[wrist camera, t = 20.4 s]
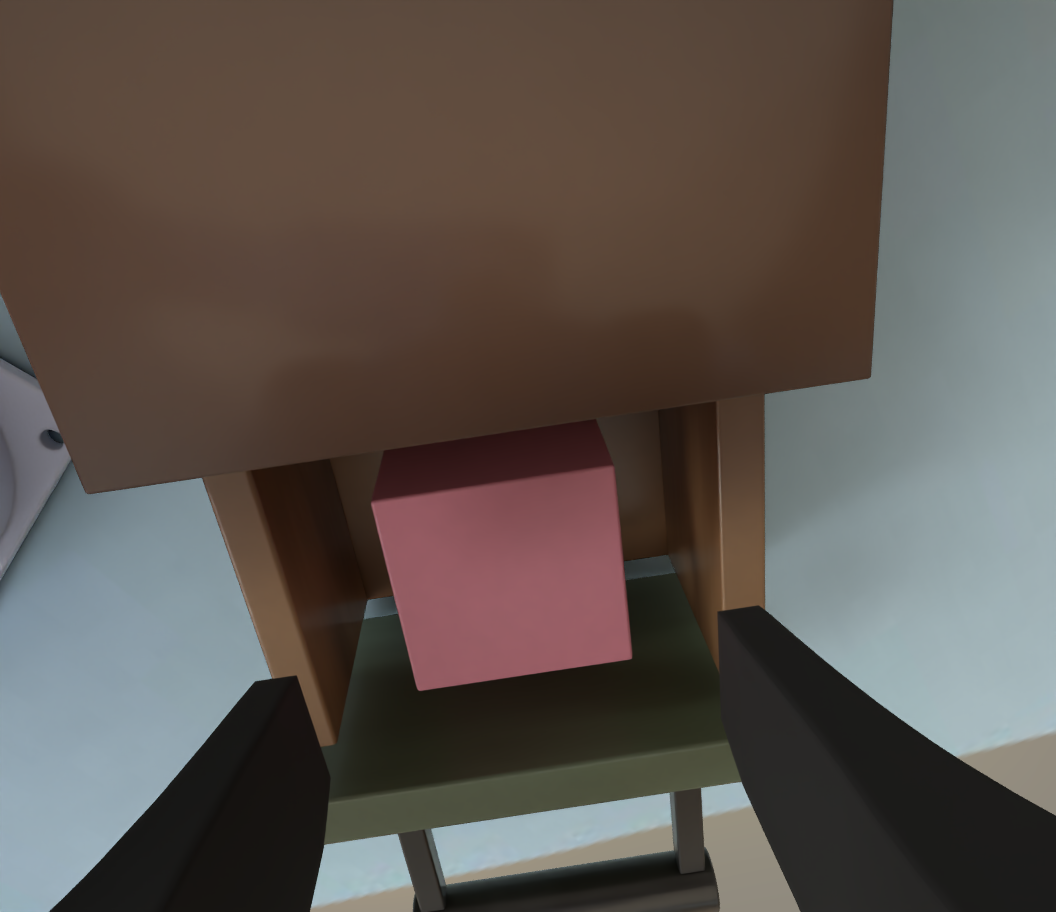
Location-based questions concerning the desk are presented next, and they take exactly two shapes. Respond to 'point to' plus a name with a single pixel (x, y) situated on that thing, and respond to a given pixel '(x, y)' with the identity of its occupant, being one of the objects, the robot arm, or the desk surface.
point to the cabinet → (428, 216)
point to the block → (505, 553)
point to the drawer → (523, 701)
